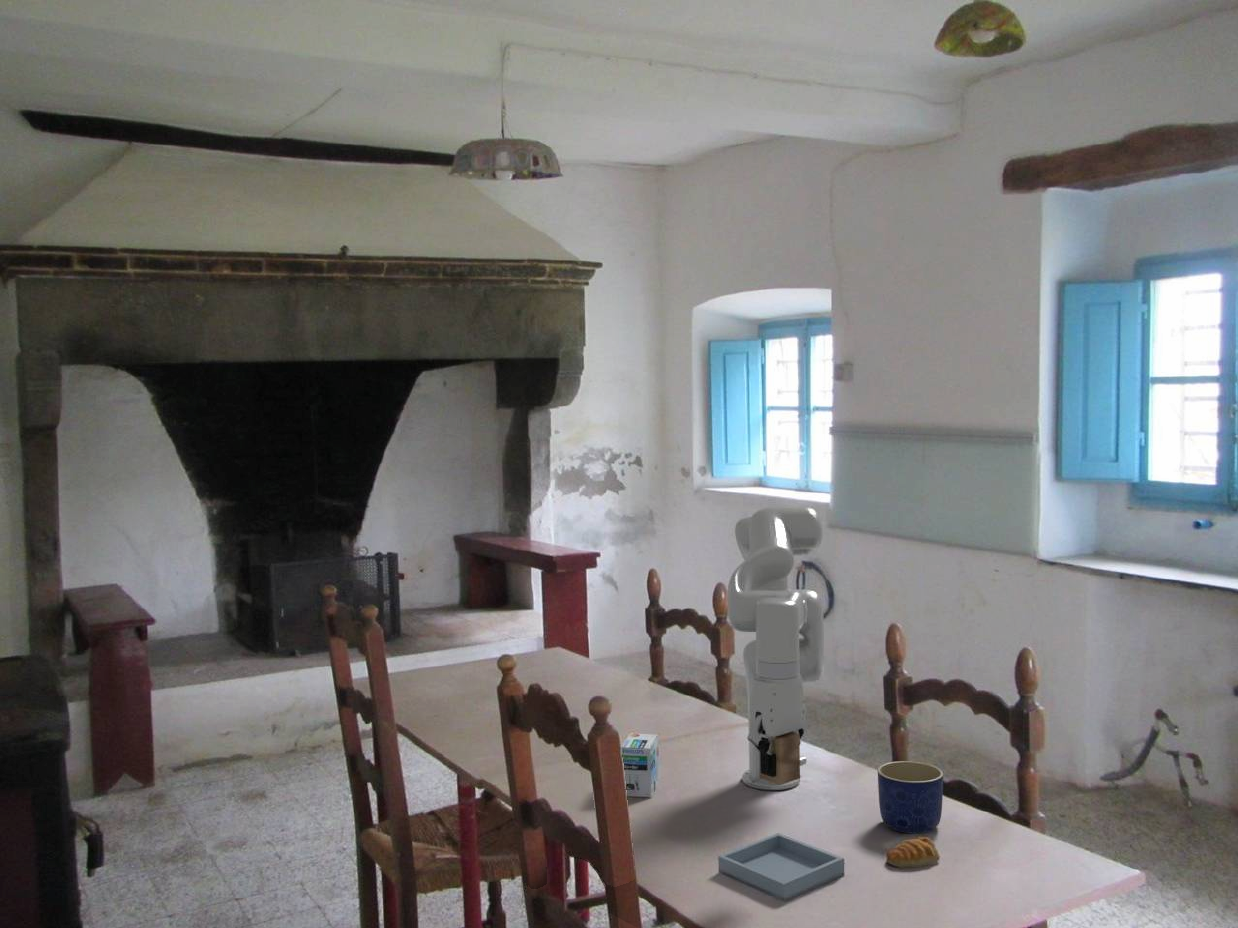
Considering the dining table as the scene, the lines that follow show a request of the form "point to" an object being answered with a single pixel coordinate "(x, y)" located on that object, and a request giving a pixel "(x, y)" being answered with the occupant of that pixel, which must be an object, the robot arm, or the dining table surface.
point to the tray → (781, 866)
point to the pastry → (913, 853)
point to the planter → (910, 796)
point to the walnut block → (785, 759)
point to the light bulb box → (641, 764)
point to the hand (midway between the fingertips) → (779, 769)
